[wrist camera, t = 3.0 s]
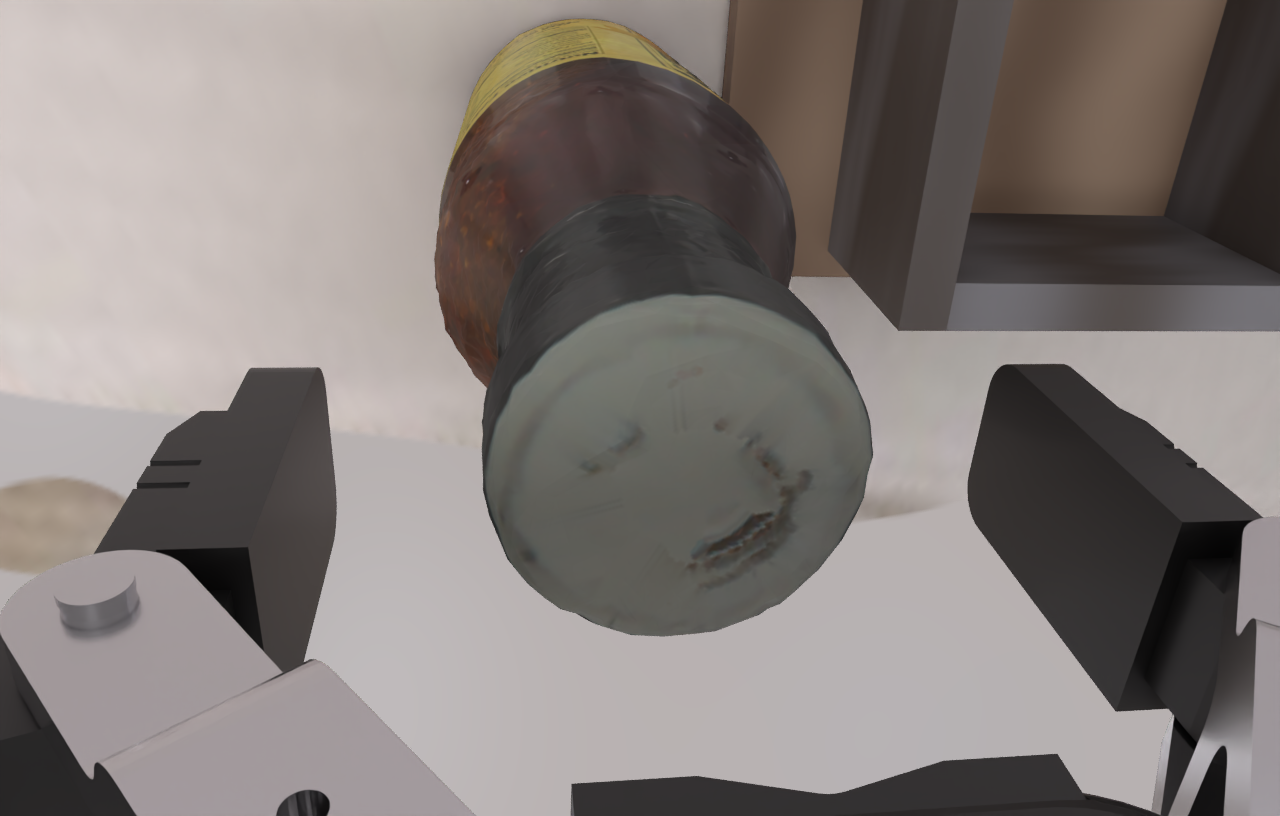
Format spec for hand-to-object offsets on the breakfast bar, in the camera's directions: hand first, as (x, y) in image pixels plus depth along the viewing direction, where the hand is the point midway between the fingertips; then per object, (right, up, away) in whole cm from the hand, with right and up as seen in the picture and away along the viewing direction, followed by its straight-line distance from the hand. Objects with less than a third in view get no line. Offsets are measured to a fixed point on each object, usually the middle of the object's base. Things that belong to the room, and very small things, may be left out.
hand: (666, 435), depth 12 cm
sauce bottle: (-2, +8, +16) cm, 18 cm away
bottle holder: (+11, +11, +16) cm, 22 cm away
